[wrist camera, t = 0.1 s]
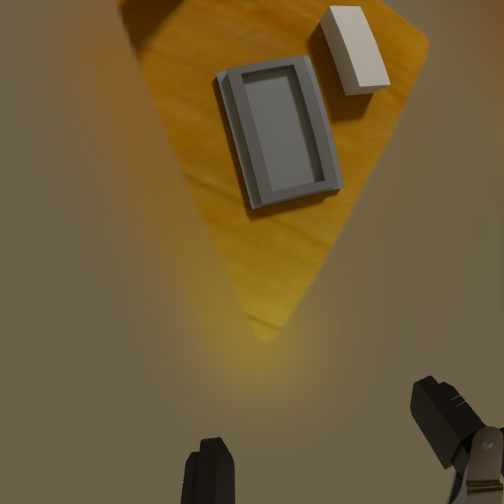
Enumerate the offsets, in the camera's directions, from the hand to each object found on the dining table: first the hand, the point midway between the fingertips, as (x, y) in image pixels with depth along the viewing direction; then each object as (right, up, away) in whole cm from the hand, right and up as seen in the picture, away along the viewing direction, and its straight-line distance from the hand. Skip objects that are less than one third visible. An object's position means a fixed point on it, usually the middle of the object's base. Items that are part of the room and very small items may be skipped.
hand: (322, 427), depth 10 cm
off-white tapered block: (+10, +34, +21) cm, 41 cm away
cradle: (+1, +22, +24) cm, 33 cm away
